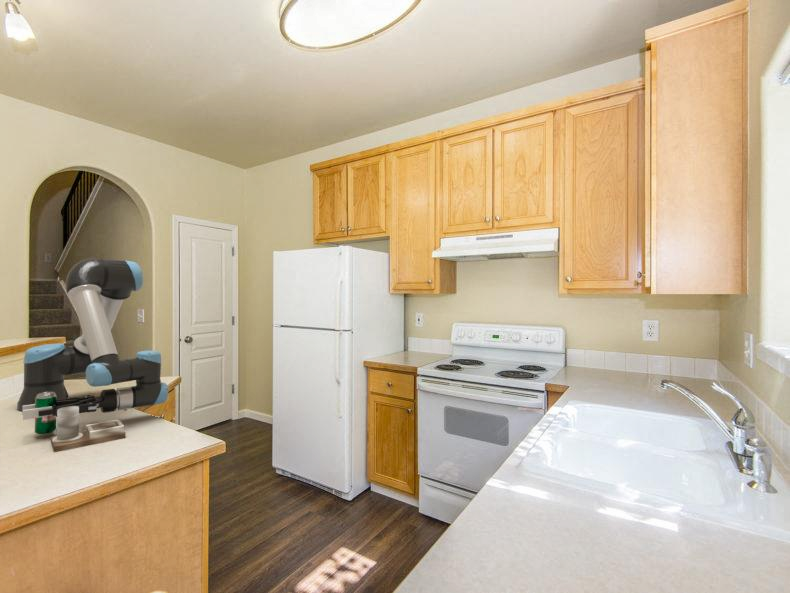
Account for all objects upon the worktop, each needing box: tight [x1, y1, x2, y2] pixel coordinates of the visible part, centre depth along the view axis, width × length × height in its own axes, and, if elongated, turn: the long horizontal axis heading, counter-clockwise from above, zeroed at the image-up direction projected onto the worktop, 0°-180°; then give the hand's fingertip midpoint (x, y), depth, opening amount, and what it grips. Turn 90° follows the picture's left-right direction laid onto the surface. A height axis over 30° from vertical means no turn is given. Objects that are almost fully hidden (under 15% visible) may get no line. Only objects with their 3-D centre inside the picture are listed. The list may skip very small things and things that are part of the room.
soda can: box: [34, 392, 57, 435], centre depth 124 cm, size 5×5×12 cm
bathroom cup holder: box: [50, 406, 127, 453], centre depth 123 cm, size 17×10×10 cm, turn 135°
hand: (23, 412), depth 121 cm, fingers closed on soda can, 5 cm apart
